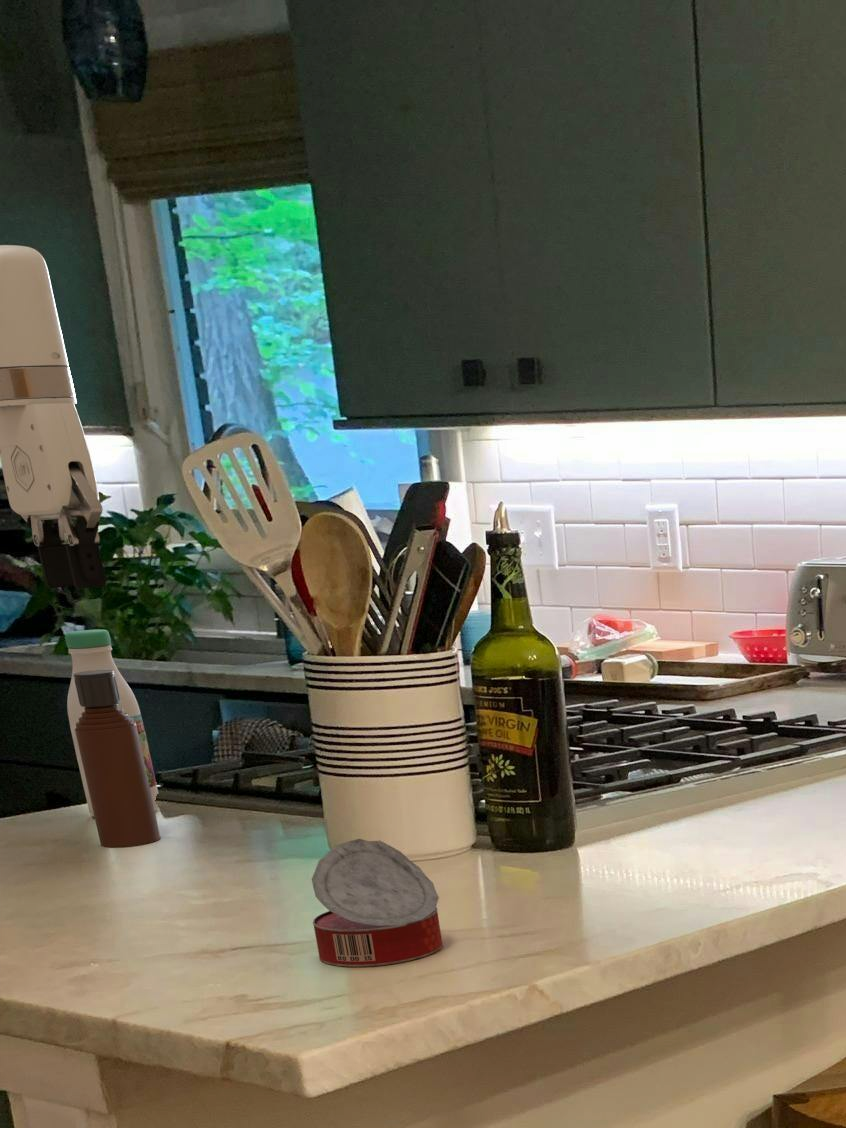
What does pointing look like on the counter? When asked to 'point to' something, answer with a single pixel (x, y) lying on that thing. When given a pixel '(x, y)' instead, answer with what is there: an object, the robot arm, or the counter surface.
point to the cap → (97, 688)
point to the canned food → (374, 907)
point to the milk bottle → (96, 655)
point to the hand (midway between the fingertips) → (76, 584)
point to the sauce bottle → (116, 777)
